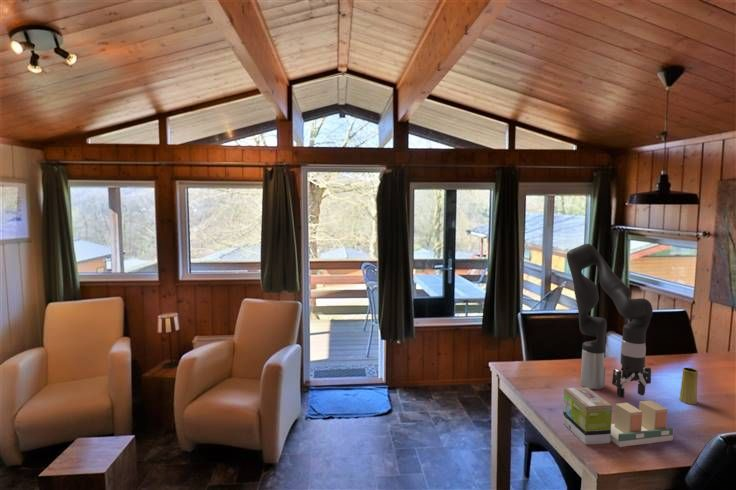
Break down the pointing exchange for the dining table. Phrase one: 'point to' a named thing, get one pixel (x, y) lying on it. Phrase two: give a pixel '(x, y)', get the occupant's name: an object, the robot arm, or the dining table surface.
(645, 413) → the faced carton
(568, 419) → the tea box
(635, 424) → the carton
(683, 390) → the vase
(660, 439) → the white flat slab
